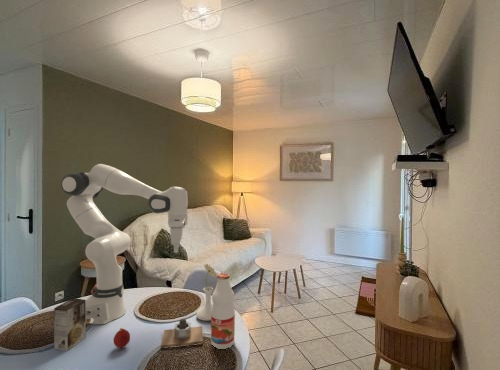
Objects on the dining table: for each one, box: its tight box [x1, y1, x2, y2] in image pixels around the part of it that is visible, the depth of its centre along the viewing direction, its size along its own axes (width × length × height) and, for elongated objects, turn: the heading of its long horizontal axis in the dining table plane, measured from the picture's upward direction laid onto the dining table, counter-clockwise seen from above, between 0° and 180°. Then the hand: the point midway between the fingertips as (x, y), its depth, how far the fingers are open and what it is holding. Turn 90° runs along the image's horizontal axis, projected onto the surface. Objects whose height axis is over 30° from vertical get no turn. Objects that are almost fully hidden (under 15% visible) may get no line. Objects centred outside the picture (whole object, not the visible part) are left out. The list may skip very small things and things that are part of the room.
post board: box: [160, 318, 204, 349], centre depth 110 cm, size 16×11×9 cm
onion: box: [113, 327, 131, 349], centre depth 104 cm, size 6×6×8 cm
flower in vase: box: [195, 263, 217, 322], centre depth 129 cm, size 13×11×25 cm
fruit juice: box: [210, 272, 236, 350], centre depth 108 cm, size 9×9×28 cm
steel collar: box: [173, 321, 192, 340], centre depth 110 cm, size 6×6×4 cm
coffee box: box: [53, 297, 87, 352], centre depth 106 cm, size 9×6×16 cm
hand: (176, 249), depth 127 cm, fingers open, 8 cm apart
